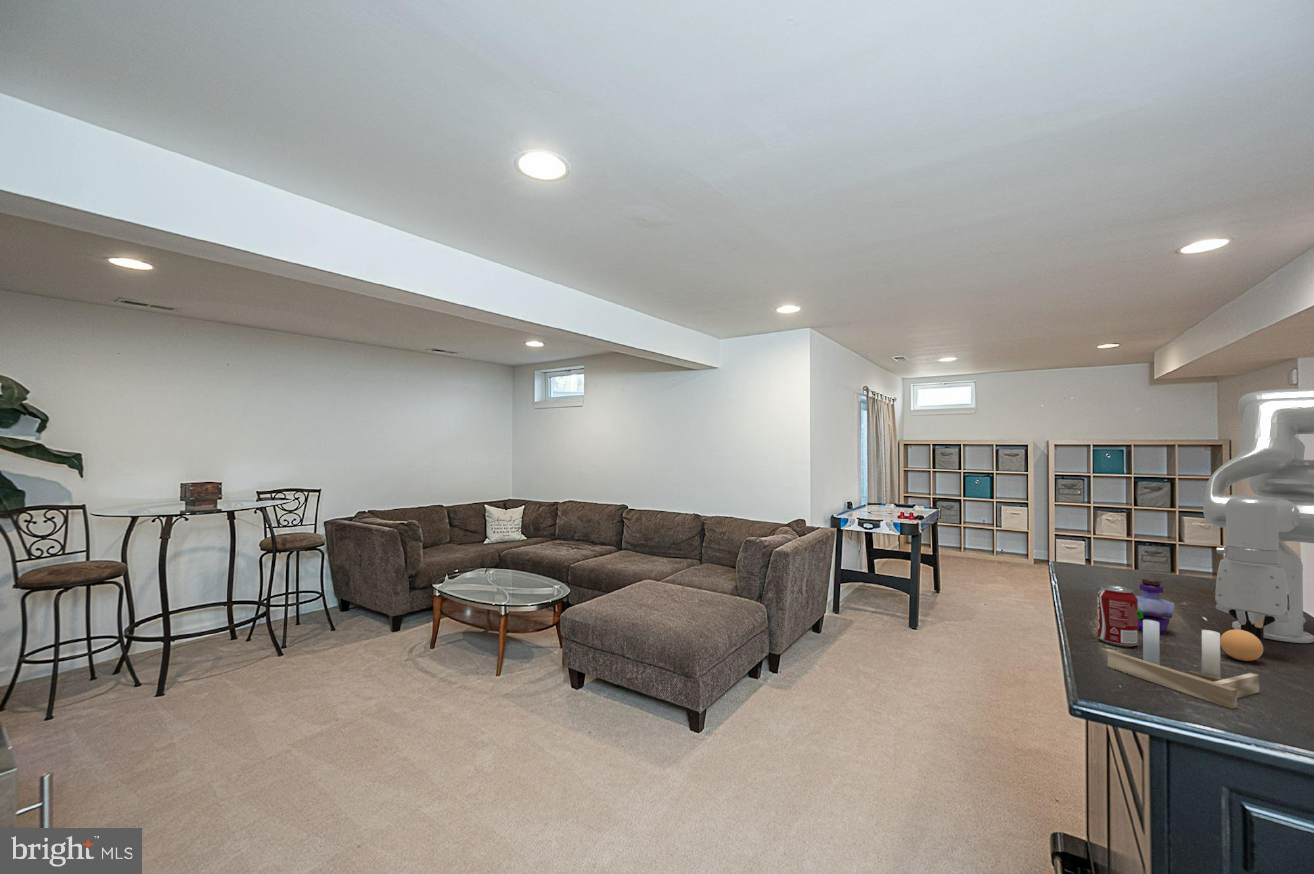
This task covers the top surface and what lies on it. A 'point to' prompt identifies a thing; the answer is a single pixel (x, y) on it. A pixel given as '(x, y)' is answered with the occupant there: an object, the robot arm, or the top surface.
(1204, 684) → the wooden t-square
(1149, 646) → the grey pin
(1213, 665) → the ivory pin
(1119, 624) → the soda can
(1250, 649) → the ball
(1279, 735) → the top surface
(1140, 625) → the potion bottle
